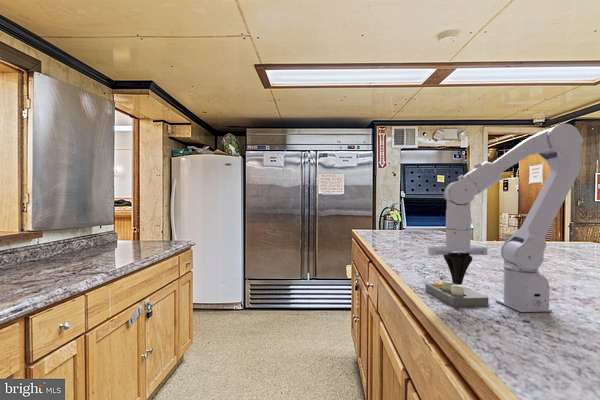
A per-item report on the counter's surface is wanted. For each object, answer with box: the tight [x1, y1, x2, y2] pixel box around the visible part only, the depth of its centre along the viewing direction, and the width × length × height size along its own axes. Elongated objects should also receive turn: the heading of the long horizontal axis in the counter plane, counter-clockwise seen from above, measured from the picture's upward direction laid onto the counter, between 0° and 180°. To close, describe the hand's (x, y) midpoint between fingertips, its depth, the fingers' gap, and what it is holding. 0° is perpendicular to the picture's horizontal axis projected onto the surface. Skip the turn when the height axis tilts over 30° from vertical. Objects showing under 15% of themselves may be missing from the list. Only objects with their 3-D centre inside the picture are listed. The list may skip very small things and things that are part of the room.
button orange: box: [433, 281, 442, 288], centre depth 102 cm, size 3×3×2 cm
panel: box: [424, 283, 489, 308], centre depth 97 cm, size 15×9×2 cm, turn 6°
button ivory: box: [451, 285, 465, 296], centre depth 93 cm, size 3×3×2 cm
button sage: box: [442, 280, 455, 292], centre depth 98 cm, size 3×3×2 cm
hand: (457, 283), depth 93 cm, fingers closed
